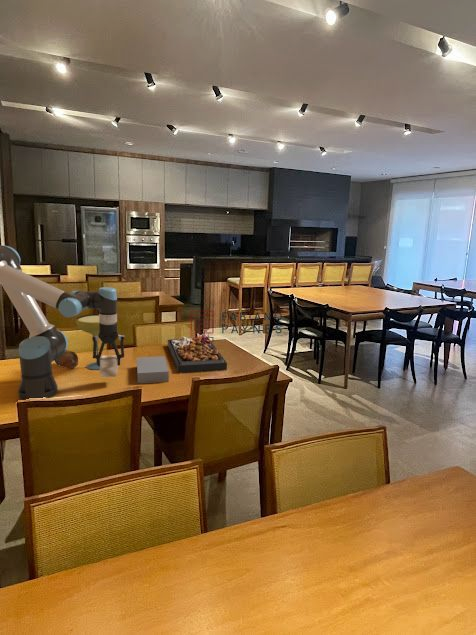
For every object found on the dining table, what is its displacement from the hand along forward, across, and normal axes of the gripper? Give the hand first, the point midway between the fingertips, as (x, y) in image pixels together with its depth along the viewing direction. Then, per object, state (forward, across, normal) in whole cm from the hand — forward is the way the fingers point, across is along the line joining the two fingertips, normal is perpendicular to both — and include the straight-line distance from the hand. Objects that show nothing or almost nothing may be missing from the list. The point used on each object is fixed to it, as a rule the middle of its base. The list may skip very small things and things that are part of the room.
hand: (109, 372), depth 188 cm
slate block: (+5, +20, +9) cm, 22 cm away
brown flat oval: (+6, -21, +26) cm, 34 cm away
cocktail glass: (+6, -6, +24) cm, 25 cm away
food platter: (+6, +44, +31) cm, 54 cm away
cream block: (+1, 0, 0) cm, 1 cm away
